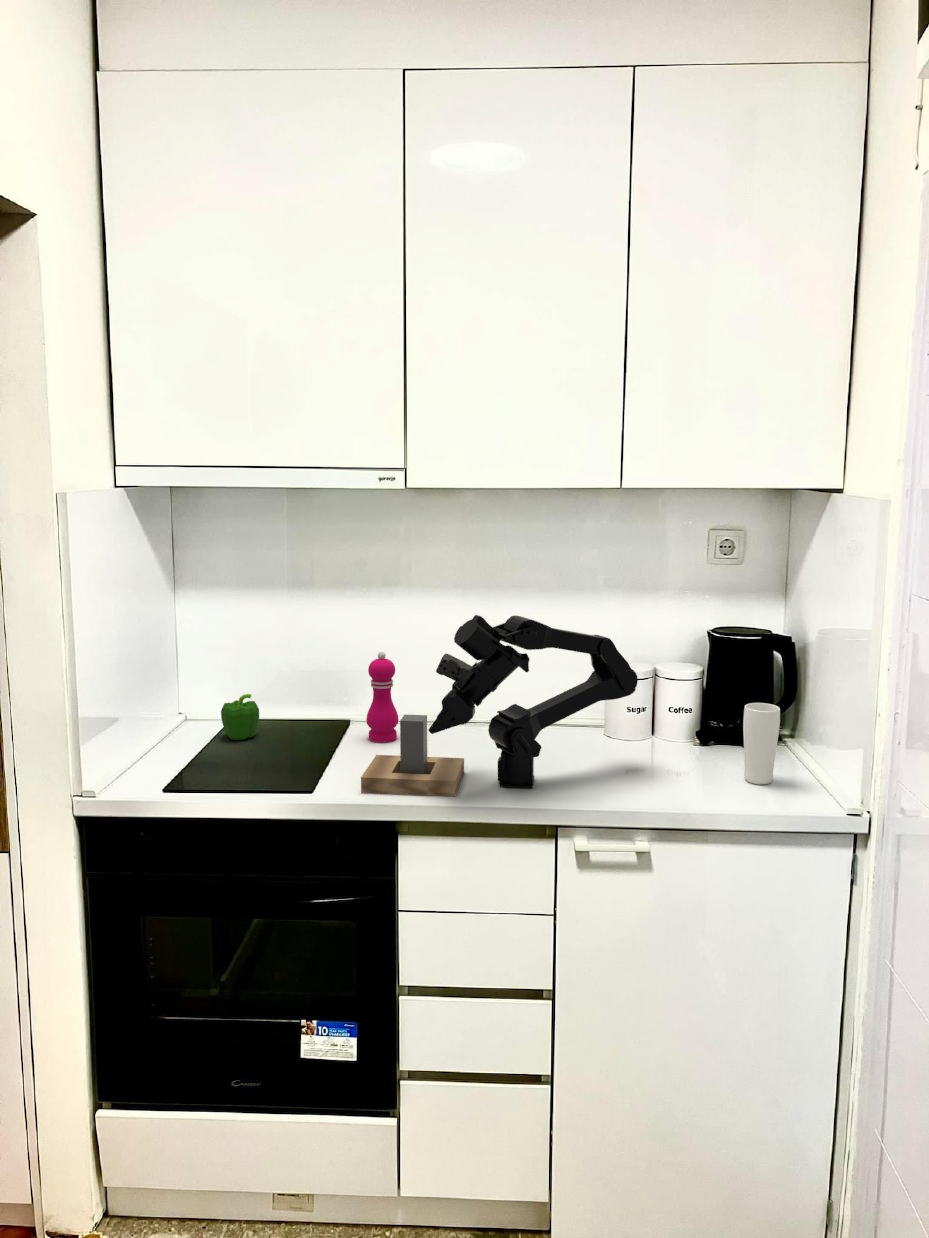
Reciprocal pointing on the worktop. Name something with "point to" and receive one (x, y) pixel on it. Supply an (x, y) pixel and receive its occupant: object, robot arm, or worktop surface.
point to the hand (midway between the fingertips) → (434, 725)
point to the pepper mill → (382, 701)
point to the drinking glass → (760, 741)
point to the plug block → (413, 744)
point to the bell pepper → (240, 718)
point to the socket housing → (413, 777)
